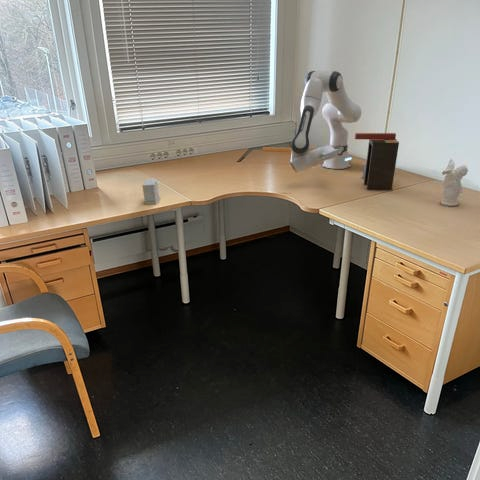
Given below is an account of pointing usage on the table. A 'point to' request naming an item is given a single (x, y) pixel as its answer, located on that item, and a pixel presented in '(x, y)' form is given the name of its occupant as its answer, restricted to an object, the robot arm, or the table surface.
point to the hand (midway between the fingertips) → (341, 146)
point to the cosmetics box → (151, 191)
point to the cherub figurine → (452, 183)
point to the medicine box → (364, 171)
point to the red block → (375, 135)
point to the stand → (381, 164)
